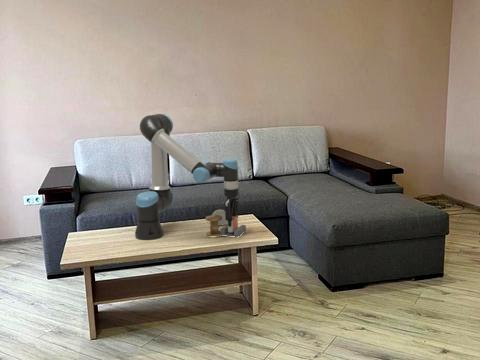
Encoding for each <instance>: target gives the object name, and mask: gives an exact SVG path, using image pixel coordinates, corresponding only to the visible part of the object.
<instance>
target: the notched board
mask: <svg viewBox="0 0 480 360" xmlns="http://www.w3.org/2000/svg"><path fill="white" fill-rule="evenodd" d="M220 231H221V234H222V235H227V236H235V237H238V236H240V235H241V234H242V233H243V232H245V231H246V232H247V225H246V224H241V225H240V226H238V228H237V229H235V230H234V232H228V224H227V225H226V224H225V226H223V227H222V228H220ZM240 237H241V236H240Z"/></svg>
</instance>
